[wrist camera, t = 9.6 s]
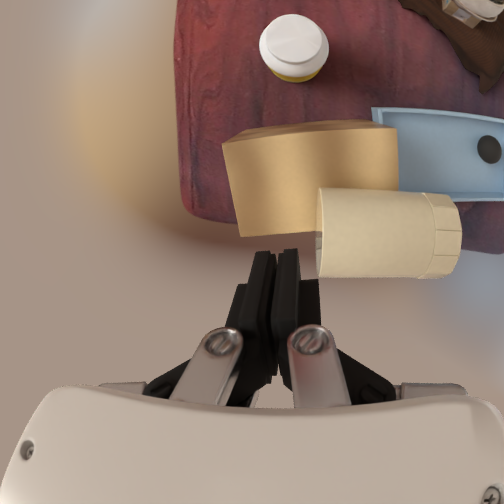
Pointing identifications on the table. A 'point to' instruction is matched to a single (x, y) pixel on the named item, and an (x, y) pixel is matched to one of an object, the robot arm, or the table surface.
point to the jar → (385, 234)
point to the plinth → (304, 169)
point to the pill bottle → (294, 48)
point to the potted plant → (470, 33)
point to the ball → (489, 149)
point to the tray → (445, 152)
